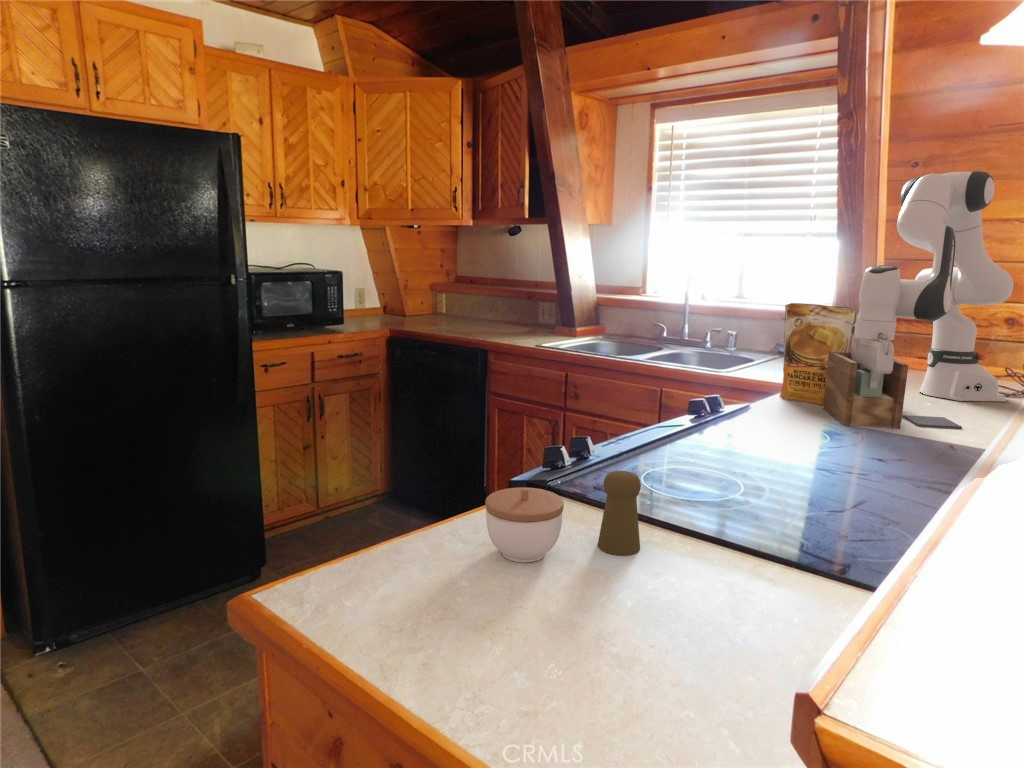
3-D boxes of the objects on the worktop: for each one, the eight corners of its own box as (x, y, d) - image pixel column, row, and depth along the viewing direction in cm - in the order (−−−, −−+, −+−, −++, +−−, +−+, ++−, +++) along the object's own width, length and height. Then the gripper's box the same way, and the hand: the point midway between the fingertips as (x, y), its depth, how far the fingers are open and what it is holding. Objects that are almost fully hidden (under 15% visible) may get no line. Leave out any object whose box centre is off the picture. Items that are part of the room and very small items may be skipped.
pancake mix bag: (781, 394, 206) (790, 302, 201) (847, 405, 193) (858, 306, 188) (771, 397, 202) (780, 302, 196) (838, 408, 188) (849, 307, 183)
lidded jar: (537, 532, 101) (538, 472, 100) (577, 560, 92) (579, 495, 90) (472, 545, 96) (472, 482, 95) (507, 577, 87) (508, 508, 85)
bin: (873, 411, 186) (880, 353, 183) (900, 429, 167) (908, 364, 164) (822, 408, 188) (829, 351, 185) (843, 425, 169) (851, 362, 166)
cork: (622, 535, 101) (626, 464, 99) (649, 550, 96) (653, 476, 94) (589, 542, 98) (592, 469, 96) (614, 559, 93) (618, 482, 91)
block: (874, 393, 174) (877, 370, 173) (881, 397, 170) (884, 373, 168) (853, 392, 175) (856, 369, 174) (859, 396, 170) (862, 372, 169)
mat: (943, 419, 178) (944, 417, 178) (961, 429, 168) (961, 426, 168) (902, 417, 179) (902, 415, 179) (917, 426, 170) (918, 424, 170)
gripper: (904, 336, 159) (897, 394, 161) (874, 327, 179) (868, 379, 181) (875, 335, 160) (868, 393, 162) (849, 326, 180) (843, 378, 182)
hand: (868, 385), depth 172 cm, fingers closed on block, 5 cm apart
